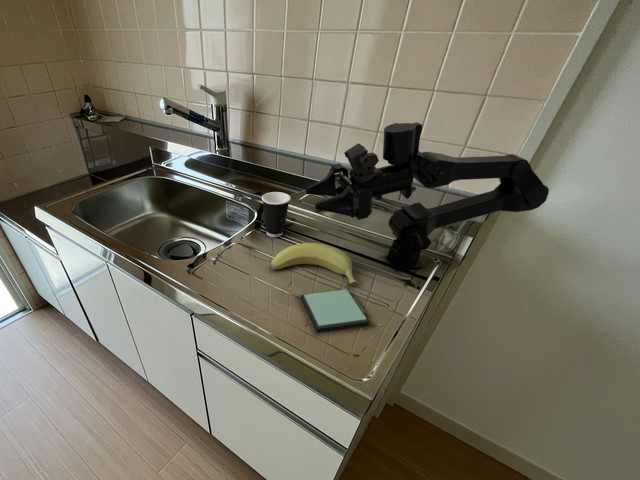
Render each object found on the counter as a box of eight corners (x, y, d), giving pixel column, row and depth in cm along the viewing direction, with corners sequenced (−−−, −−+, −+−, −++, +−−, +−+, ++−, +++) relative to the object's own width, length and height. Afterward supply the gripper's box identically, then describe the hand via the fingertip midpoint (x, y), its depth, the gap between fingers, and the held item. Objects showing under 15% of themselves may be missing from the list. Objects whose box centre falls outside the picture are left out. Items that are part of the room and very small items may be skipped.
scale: (349, 292, 78) (350, 287, 77) (370, 325, 69) (372, 320, 68) (300, 299, 76) (301, 293, 75) (316, 333, 68) (317, 327, 67)
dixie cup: (260, 227, 103) (260, 192, 96) (286, 226, 103) (288, 191, 96) (262, 240, 97) (263, 204, 90) (289, 239, 97) (292, 202, 90)
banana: (301, 226, 87) (371, 262, 78) (301, 241, 92) (367, 276, 83) (267, 258, 83) (337, 300, 74) (268, 272, 87) (335, 313, 78)
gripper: (366, 132, 75) (297, 150, 76) (404, 152, 60) (317, 174, 61) (366, 181, 81) (303, 197, 83) (401, 211, 66) (322, 229, 68)
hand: (310, 198), depth 73 cm, fingers open, 9 cm apart
